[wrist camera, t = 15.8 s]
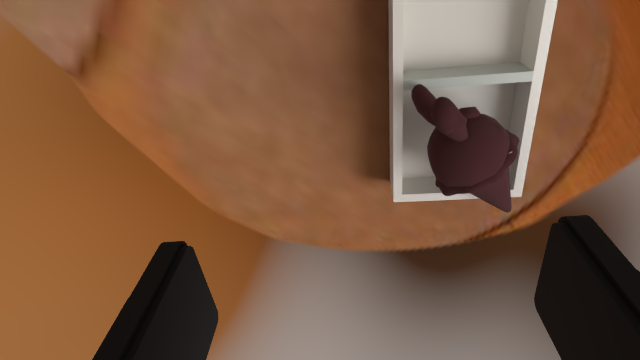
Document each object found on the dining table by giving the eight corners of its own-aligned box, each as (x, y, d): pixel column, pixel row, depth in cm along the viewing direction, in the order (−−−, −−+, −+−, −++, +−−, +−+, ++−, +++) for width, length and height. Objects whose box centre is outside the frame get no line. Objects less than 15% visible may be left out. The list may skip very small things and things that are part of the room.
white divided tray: (387, -75, 30) (392, -78, 27) (549, -93, 29) (575, -99, 25) (389, 181, 41) (393, 202, 38) (506, 175, 40) (521, 196, 36)
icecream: (572, 204, 32) (495, 67, 25) (497, 259, 34) (404, 142, 27) (518, 168, 39) (444, 49, 31) (457, 215, 40) (372, 111, 33)
